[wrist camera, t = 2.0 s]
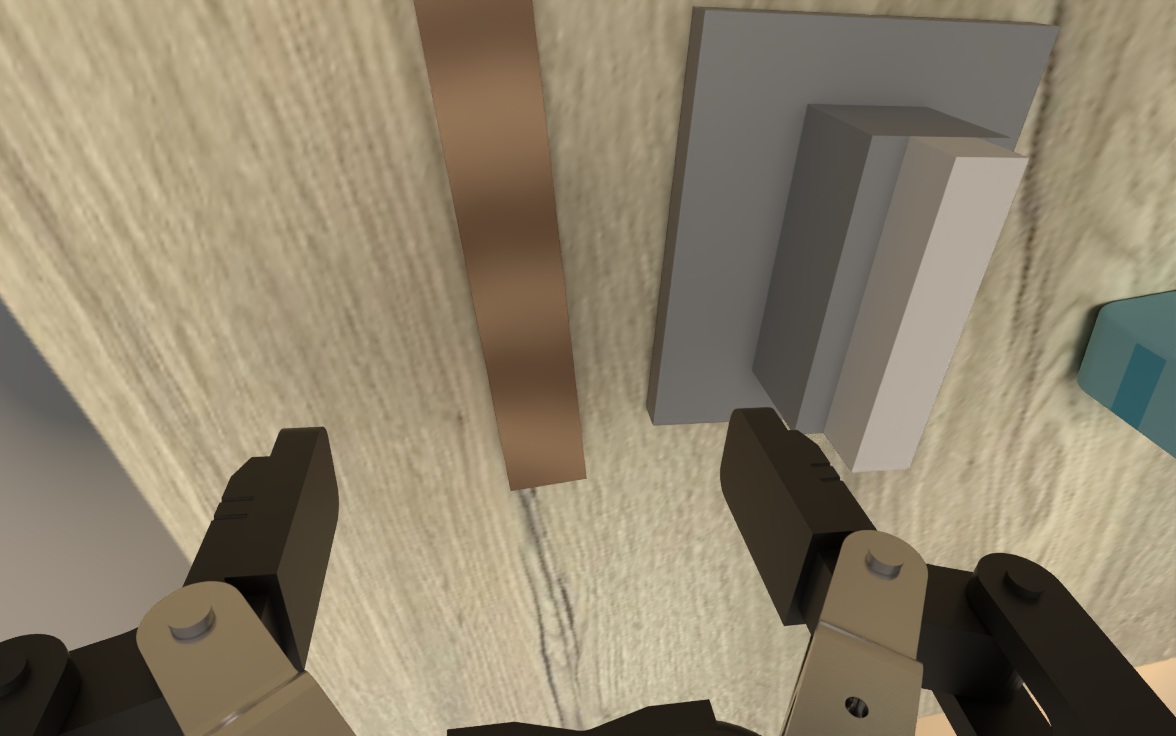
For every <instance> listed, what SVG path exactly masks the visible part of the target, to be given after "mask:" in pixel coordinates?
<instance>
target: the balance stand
mask: <svg viewBox="0 0 1176 736" xmlns="http://www.w3.org/2000/svg"><path fill="white" fill-rule="evenodd" d="M1059 29H1060V26H1053V25H1046V24H1039V23H1032V22H1011V21H990V20H968V19H947V18H926V17H905V16H883V15H862V14H841V13H820V12H798V11H777V10H756V9H734V8H713V7H693V14H692V23H691V31H690V40H689V48H688V57H687V65H686V74H685V82H684V91H683V100H682V108H681V117H680V125H679V134H678V142H677V151H676V159H675V168H674V176H673V185H672V193H671V202H670V211H669V219H668V228H667V236H666V245H665V253H664V262H663V270H662V279H661V287H660V296H659V304H658V313H657V322H656V330H655V339H654V347H653V356H652V364H651V373H650V381H649V390H648V398H647V407H646V408H647V411H648V413H649V416H650V419H651V421H652V424H653V425H673V424H694V423H714V422H730V417H731V414H732V412H733V410H734V409H737V408H758V407H771V408H773V409H774V410H775V411H776V413H777V414H778V416H779V417H780V419H784V420H785V422H786V423H787V425H788V426H789V428H790V429H791V430H798V431H800V432H801V433H802V434H812V433H824V435H825V436H826V437H827V439H828V440H829V442H830V443H831V444H832V446H833V447H834V449H835V450H836V451H837V453H838V454H839V456H840V457H841V458H842V460H843V461H844V463H845V464H846V465H847V467H848V468H849V470H850V471H851V472H866V471H882V470H898V469H909V467H910V464H911V462H912V459H913V456H914V454H915V451H916V449H917V446H918V444H919V441H920V438H921V436H922V433H923V431H924V428H925V426H926V423H927V420H928V418H929V415H930V413H931V410H932V408H933V405H934V402H935V400H936V397H937V395H938V392H939V390H940V387H941V384H942V382H943V379H944V377H945V374H946V372H947V369H948V366H949V364H950V361H951V359H952V356H953V354H954V351H955V348H956V346H957V343H958V341H959V338H960V336H961V333H962V330H963V328H964V325H965V323H966V320H967V318H968V315H969V312H970V310H971V307H972V305H973V302H974V300H975V297H976V294H977V292H978V289H979V287H980V284H981V282H982V279H983V276H984V274H985V271H986V269H987V266H988V264H989V261H990V258H991V256H992V253H993V251H994V248H995V246H996V243H997V240H998V238H999V235H1000V233H1001V230H1002V228H1003V225H1004V222H1005V220H1006V217H1007V215H1008V212H1009V210H1010V207H1011V204H1012V202H1013V199H1014V197H1015V194H1016V192H1017V189H1018V186H1019V184H1020V181H1021V179H1022V176H1023V174H1024V171H1025V168H1026V166H1027V163H1028V161H1029V158H1028V157H1026V156H1023V155H1020V154H1018V153H1015V152H1014V149H1015V146H1016V144H1017V141H1018V138H1019V136H1020V133H1021V130H1022V128H1023V125H1024V122H1025V120H1026V117H1027V114H1028V112H1029V109H1030V106H1031V104H1032V101H1033V98H1034V96H1035V93H1036V90H1037V88H1038V85H1039V82H1040V80H1041V77H1042V74H1043V72H1044V69H1045V66H1046V64H1047V61H1048V58H1049V56H1050V53H1051V50H1052V48H1053V45H1054V42H1055V40H1056V37H1057V34H1058V32H1059Z"/></svg>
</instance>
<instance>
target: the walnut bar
mask: <svg viewBox="0 0 1176 736" xmlns="http://www.w3.org/2000/svg"><path fill="white" fill-rule="evenodd" d="M414 5H415V10H416V15H417V20H418V25H419V30H420V35H421V40H422V45H423V50H424V55H425V60H426V65H427V70H428V75H429V81H430V86H431V91H432V96H433V101H434V106H435V111H436V116H437V121H438V126H439V131H440V136H441V141H442V146H443V151H444V156H445V161H446V166H447V171H448V177H449V182H450V187H451V192H452V197H453V202H454V207H455V212H456V217H457V222H458V227H459V232H460V237H461V242H462V247H463V252H464V257H465V262H466V267H467V273H468V278H469V283H470V288H471V293H472V298H473V303H474V308H475V313H476V318H477V323H478V328H479V333H480V338H481V343H482V348H483V353H484V358H485V363H486V369H487V374H488V379H489V384H490V389H491V394H492V399H493V404H494V409H495V414H496V419H497V424H498V429H499V434H500V439H501V444H502V449H503V454H504V459H505V465H506V470H507V475H508V480H509V485H510V490H511V491H514V490H520V489H526V488H532V487H538V486H544V485H550V484H557V483H563V482H569V481H575V480H581V479H587V478H586V469H585V460H584V451H583V443H582V434H581V425H580V416H579V408H578V399H577V390H576V381H575V373H574V364H573V355H572V346H571V338H570V329H569V320H568V311H567V303H566V294H565V285H564V276H563V267H562V259H561V250H560V241H559V232H558V224H557V215H556V206H555V197H554V189H553V180H552V171H551V162H550V154H549V145H548V136H547V127H546V119H545V110H544V101H543V92H542V84H541V75H540V66H539V57H538V49H537V40H536V31H535V22H534V13H533V5H532V0H414Z"/></svg>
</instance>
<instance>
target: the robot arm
mask: <svg viewBox="0 0 1176 736" xmlns="http://www.w3.org/2000/svg"><path fill="white" fill-rule="evenodd" d="M720 481H721V487H722V492H723V495H724V497H725V500H726V502H727V504H728V506H729V508H730V510H731V513H732V515H733V517H734V519H735V521H736V523H737V526H738V528H739V530H740V532H741V534H742V536H743V539H744V541H745V543H746V545H747V547H748V549H749V552H750V554H751V556H752V558H753V560H754V562H755V564H756V567H757V569H758V571H759V573H760V575H761V577H762V580H763V582H764V584H765V586H766V588H767V590H768V593H769V595H770V597H771V599H772V601H773V603H774V606H775V608H776V610H777V612H778V614H779V616H780V619H781V621H782V623H783V625H784V626H789V625H799V624H806V625H807V627H808V629H809V631H810V633H811V636H810V639H809V642H808V645H807V648H806V651H805V654H804V658H803V661H802V664H801V667H800V670H799V674H798V677H797V680H796V683H795V686H794V690H793V693H792V696H791V699H790V703H789V706H788V709H787V712H786V715H785V719H784V722H783V725H782V728H781V731H780V734H779V736H915V729H916V723H917V715H918V708H919V700H920V693H921V688H923V689H928V690H932V692H933V694H934V695H935V697H936V699H937V701H938V703H939V704H940V706H941V708H942V710H943V712H944V713H945V715H946V717H947V719H948V721H949V722H950V724H951V726H952V728H953V729H954V731H955V733H956V735H957V736H1176V717H1175V716H1174V715H1173V713H1172V712H1171V711H1170V710H1169V709H1168V708H1167V707H1166V705H1165V704H1164V703H1163V702H1162V701H1161V699H1160V698H1159V697H1158V696H1157V695H1156V693H1155V692H1154V691H1153V690H1152V689H1151V688H1150V686H1149V685H1148V684H1147V683H1146V682H1145V681H1144V680H1143V678H1142V677H1141V676H1140V675H1139V673H1138V672H1137V671H1136V670H1135V669H1134V668H1133V666H1132V665H1131V664H1130V663H1129V662H1128V661H1127V659H1126V658H1125V657H1124V656H1123V655H1122V654H1121V652H1120V651H1119V650H1118V649H1117V648H1116V646H1115V645H1114V644H1113V643H1112V642H1111V641H1110V639H1109V638H1108V637H1107V636H1106V635H1105V634H1104V632H1103V631H1102V630H1101V629H1100V628H1099V627H1098V625H1097V624H1096V623H1095V622H1094V621H1093V619H1092V618H1091V617H1090V616H1089V615H1088V614H1087V612H1086V611H1085V610H1084V609H1083V608H1082V607H1081V605H1080V604H1079V603H1078V602H1077V601H1076V600H1075V598H1074V597H1073V596H1072V595H1071V594H1070V592H1069V591H1068V590H1067V589H1066V588H1065V587H1064V585H1063V584H1062V583H1061V582H1060V581H1059V580H1058V579H1057V578H1056V577H1055V576H1054V575H1053V574H1051V573H1050V572H1049V571H1048V570H1046V569H1045V568H1043V567H1042V566H1040V565H1038V564H1036V563H1035V562H1032V561H1030V560H1028V559H1026V558H1023V557H1020V556H1017V555H1013V554H1007V553H992V554H988V555H986V556H984V557H982V558H981V559H980V560H979V562H978V564H977V566H976V568H975V570H974V572H969V571H963V570H958V569H952V568H946V567H941V566H935V565H931V564H926V563H925V561H924V560H923V558H922V557H921V555H920V554H919V553H918V552H917V551H916V550H915V549H914V548H913V547H912V546H911V545H909V544H908V543H906V542H905V541H903V540H901V539H900V538H898V537H896V536H893V535H891V534H888V533H885V532H881V531H877V530H876V528H875V527H874V525H873V524H872V522H871V521H870V519H869V518H868V517H867V515H866V514H865V512H864V511H863V509H862V508H861V506H860V505H859V504H858V502H857V501H856V499H855V498H854V496H853V495H852V494H851V492H850V491H849V489H848V488H847V486H846V485H845V483H844V482H843V481H840V476H839V475H838V473H837V472H836V471H835V469H834V468H833V466H830V462H829V460H828V459H827V458H826V456H825V455H824V453H823V452H822V450H821V449H820V448H819V446H818V445H817V444H816V443H814V442H813V441H812V440H810V439H809V438H808V437H806V436H805V435H804V434H802V433H801V432H800V431H798V430H787V428H786V427H785V425H784V424H783V422H782V421H781V419H780V417H779V416H778V414H777V413H776V411H775V410H774V409H773V408H771V407H758V408H737V409H734V410H733V412H732V414H731V417H730V422H729V427H728V432H727V437H726V442H725V447H724V452H723V457H722V462H721V467H720ZM338 512H339V495H338V487H337V481H336V476H335V471H334V465H333V460H332V455H331V449H330V444H329V439H328V434H327V431H326V429H325V427H307V428H285V429H281V431H280V432H279V434H278V437H277V439H276V442H275V445H274V447H273V450H272V453H271V455H270V456H266V457H251V458H250V459H249V460H248V461H247V462H246V463H245V464H244V465H243V466H242V467H241V468H240V469H239V470H238V471H237V472H235V473H234V474H233V475H232V476H231V478H230V480H229V482H228V485H227V487H226V489H225V492H224V494H223V496H222V502H221V503H219V505H218V507H217V510H216V512H215V514H214V520H213V521H211V523H210V526H209V528H208V530H207V532H206V535H205V537H204V539H203V542H202V544H201V546H200V548H199V551H198V553H197V555H196V557H195V560H194V562H193V564H192V567H191V569H190V571H189V573H188V576H187V578H186V580H185V582H184V585H183V587H182V588H180V589H178V590H176V591H174V592H172V593H170V594H169V595H167V596H165V597H164V598H162V599H161V600H160V601H159V602H157V603H156V604H155V605H154V606H153V607H152V608H151V609H150V610H149V611H148V612H147V613H146V614H145V616H144V618H143V619H142V621H141V622H140V625H139V627H137V628H135V629H133V630H131V631H129V632H126V633H124V634H121V635H118V636H115V637H112V638H109V639H106V640H102V641H99V642H96V643H93V644H90V645H87V646H84V647H81V648H78V649H75V650H72V651H69V652H68V650H67V648H66V646H65V645H64V643H63V642H62V641H61V640H59V639H58V638H56V637H54V636H50V635H46V634H29V635H23V636H19V637H15V638H12V639H9V640H6V641H3V642H0V736H356V735H355V733H354V732H353V731H352V729H351V728H350V726H349V725H348V724H347V722H346V721H345V720H344V718H343V717H342V716H341V714H340V713H339V711H338V710H337V709H336V707H335V706H334V705H333V703H332V702H331V701H330V699H329V698H328V696H327V695H326V694H325V692H324V691H323V690H322V688H321V687H320V686H319V684H318V683H317V682H316V680H315V679H314V678H313V677H312V675H311V674H310V673H309V672H307V671H306V670H304V669H305V664H306V660H307V655H308V651H309V646H310V642H311V637H312V633H313V628H314V624H315V619H316V615H317V610H318V606H319V601H320V597H321V592H322V588H323V583H324V579H325V574H326V570H327V565H328V561H329V557H330V552H331V548H332V543H333V539H334V534H335V530H336V525H337V520H338ZM1023 682H1024V683H1025V684H1026V686H1027V687H1028V689H1029V690H1030V691H1031V693H1032V694H1033V696H1034V697H1035V699H1036V700H1037V702H1038V703H1039V705H1040V706H1041V707H1042V709H1043V710H1044V712H1045V713H1046V715H1047V717H1048V719H1049V722H1050V724H1051V726H1050V724H1049V723H1048V722H1047V720H1046V718H1045V717H1044V715H1043V714H1042V713H1041V711H1040V710H1039V708H1038V707H1037V705H1036V704H1035V702H1034V701H1033V699H1032V698H1031V697H1030V695H1029V693H1028V692H1027V690H1026V689H1025V688H1024V686H1023V685H1022V684H1023ZM447 736H761V735H759V734H757V733H756V732H753V731H751V730H748V729H746V728H743V727H741V726H738V725H734V724H731V723H727V722H723V721H717V720H716V719H715V716H714V713H713V709H712V706H711V703H710V700H709V699H708V700H699V701H691V702H682V703H673V704H665V705H656V706H648V707H645V708H643V709H640V710H638V711H635V712H633V713H630V714H628V715H625V716H623V717H620V718H618V719H615V720H613V721H610V722H608V723H605V724H603V725H600V726H598V727H595V728H593V729H590V730H585V731H577V730H570V729H563V728H555V727H548V726H541V725H534V724H527V723H520V722H508V723H500V724H491V725H482V726H474V727H465V728H456V729H448V730H447Z"/></svg>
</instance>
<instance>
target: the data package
mask: <svg viewBox="0 0 1176 736" xmlns="http://www.w3.org/2000/svg"><path fill="white" fill-rule="evenodd" d="M1077 381H1078V384H1079V386H1080V387H1081V388H1082V389H1083V390H1084V391H1085V392H1086V393H1087V394H1089V395H1090V396H1091V397H1093V398H1094V399H1095V400H1097V401H1098V402H1100V403H1101V404H1102V405H1104V406H1105V407H1106V408H1108V409H1109V410H1110V411H1112V412H1113V413H1114V414H1116V415H1117V416H1119V417H1120V418H1121V419H1123V420H1124V421H1125V422H1127V423H1128V424H1129V425H1131V426H1132V427H1134V428H1135V429H1136V430H1138V431H1139V432H1140V433H1142V434H1143V435H1144V436H1146V437H1147V438H1148V439H1150V440H1151V441H1153V442H1154V443H1155V444H1157V445H1158V446H1159V447H1161V448H1162V449H1163V450H1165V451H1166V452H1167V453H1169V454H1170V455H1172V456H1173V457H1174V458H1176V291H1172V292H1167V293H1161V294H1155V295H1150V296H1144V297H1139V298H1133V299H1127V300H1122V301H1116V302H1112V303H1109V304H1107V305H1105V306H1104V307H1102V309H1101V310H1100V312H1099V314H1098V317H1097V320H1096V323H1095V326H1094V329H1093V332H1092V335H1091V338H1090V341H1089V344H1088V347H1087V349H1086V352H1085V355H1084V358H1083V361H1082V364H1081V367H1080V370H1079V373H1078V376H1077Z"/></svg>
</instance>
